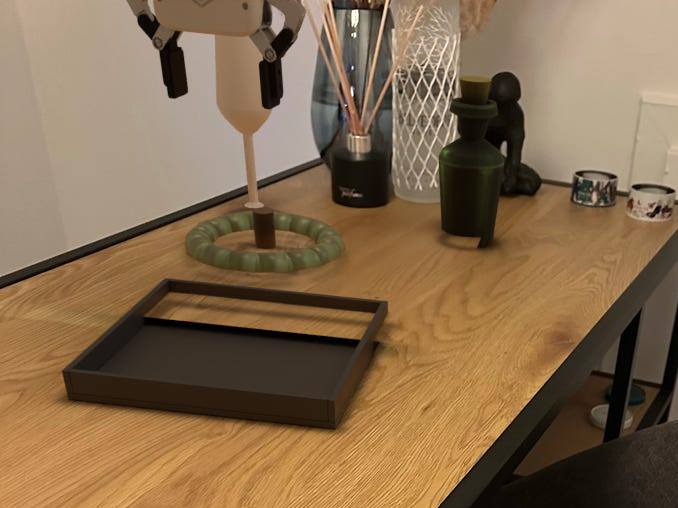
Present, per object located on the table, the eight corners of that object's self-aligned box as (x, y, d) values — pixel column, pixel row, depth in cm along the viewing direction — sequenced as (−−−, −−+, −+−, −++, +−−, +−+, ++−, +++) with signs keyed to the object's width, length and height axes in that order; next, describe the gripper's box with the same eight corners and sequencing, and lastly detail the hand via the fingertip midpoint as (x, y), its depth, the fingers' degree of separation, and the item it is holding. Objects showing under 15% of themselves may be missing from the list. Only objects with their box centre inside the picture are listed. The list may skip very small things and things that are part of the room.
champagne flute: (286, 211, 124) (272, -7, 109) (273, 226, 119) (256, -1, 104) (237, 207, 124) (214, -12, 109) (221, 222, 119) (196, -6, 104)
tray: (68, 399, 80) (61, 370, 78) (168, 302, 97) (164, 277, 96) (335, 429, 79) (334, 400, 77) (388, 326, 96) (388, 300, 95)
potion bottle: (503, 235, 122) (515, 76, 111) (493, 254, 116) (504, 88, 104) (442, 227, 123) (448, 69, 111) (429, 246, 117) (433, 81, 105)
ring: (163, 276, 103) (159, 248, 101) (217, 228, 117) (214, 202, 115) (323, 292, 102) (322, 264, 101) (358, 242, 116) (358, 217, 114)
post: (222, 266, 107) (216, 217, 104) (244, 244, 113) (239, 197, 110) (291, 273, 107) (287, 224, 103) (309, 251, 113) (306, 204, 109)
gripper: (86, -131, 79) (124, 99, 90) (281, -115, 77) (295, 118, 88) (129, -131, 85) (159, 86, 96) (312, -116, 83) (321, 103, 94)
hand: (224, 101), depth 92 cm, fingers open, 9 cm apart
